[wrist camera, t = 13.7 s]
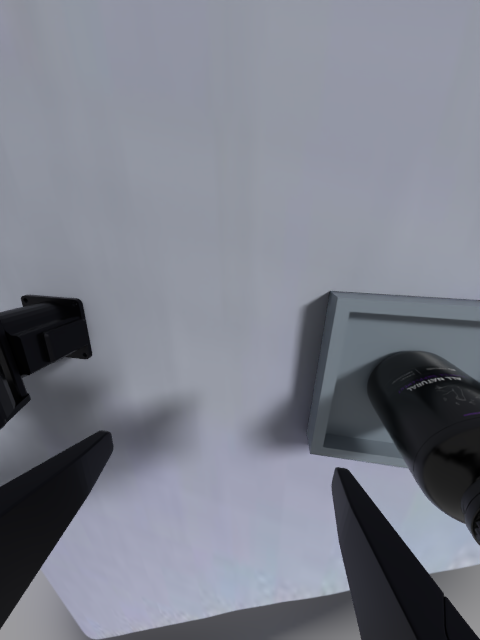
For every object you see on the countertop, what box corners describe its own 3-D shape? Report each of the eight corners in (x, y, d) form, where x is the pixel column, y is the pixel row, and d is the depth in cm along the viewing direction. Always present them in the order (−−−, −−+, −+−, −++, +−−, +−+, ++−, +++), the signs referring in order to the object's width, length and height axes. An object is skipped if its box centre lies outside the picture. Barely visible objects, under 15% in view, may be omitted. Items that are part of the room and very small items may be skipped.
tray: (306, 433, 24) (310, 453, 21) (330, 290, 19) (338, 297, 17) (466, 455, 22) (490, 480, 19) (537, 303, 17) (580, 313, 15)
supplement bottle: (404, 332, 18) (616, 472, 7) (471, 376, 19) (776, 579, 7) (346, 389, 21) (434, 565, 9) (406, 428, 21) (562, 643, 10)
